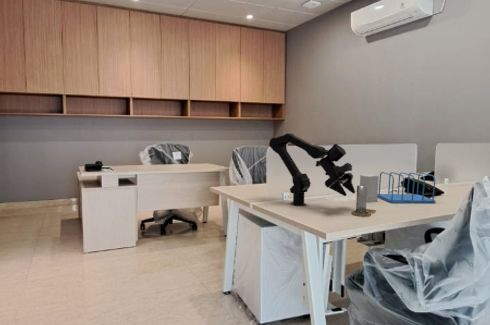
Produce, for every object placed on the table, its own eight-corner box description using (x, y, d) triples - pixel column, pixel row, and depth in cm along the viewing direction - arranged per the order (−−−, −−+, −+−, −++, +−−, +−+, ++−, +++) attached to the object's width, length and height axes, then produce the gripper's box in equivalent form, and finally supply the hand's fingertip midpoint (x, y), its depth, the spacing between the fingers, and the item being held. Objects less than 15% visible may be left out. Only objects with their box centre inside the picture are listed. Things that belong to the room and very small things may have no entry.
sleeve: (354, 213, 161) (356, 185, 160) (364, 213, 161) (366, 185, 160) (356, 215, 157) (358, 186, 156) (366, 215, 156) (368, 187, 155)
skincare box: (369, 200, 194) (370, 173, 193) (377, 202, 189) (379, 175, 188) (358, 201, 190) (359, 174, 189) (367, 203, 185) (368, 175, 184)
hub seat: (344, 213, 163) (344, 209, 163) (366, 212, 165) (366, 209, 165) (355, 219, 153) (355, 215, 152) (378, 218, 154) (378, 214, 154)
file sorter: (390, 203, 187) (392, 175, 186) (376, 197, 205) (377, 171, 203) (435, 203, 189) (437, 175, 187) (417, 197, 206) (419, 171, 205)
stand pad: (356, 212, 164) (356, 211, 164) (358, 209, 171) (359, 208, 171) (374, 214, 161) (374, 213, 161) (376, 211, 168) (376, 210, 168)
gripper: (332, 158, 156) (354, 186, 150) (350, 156, 170) (371, 181, 164) (315, 173, 162) (336, 201, 156) (334, 170, 176) (354, 195, 170)
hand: (350, 194), depth 162 cm, fingers open, 9 cm apart
